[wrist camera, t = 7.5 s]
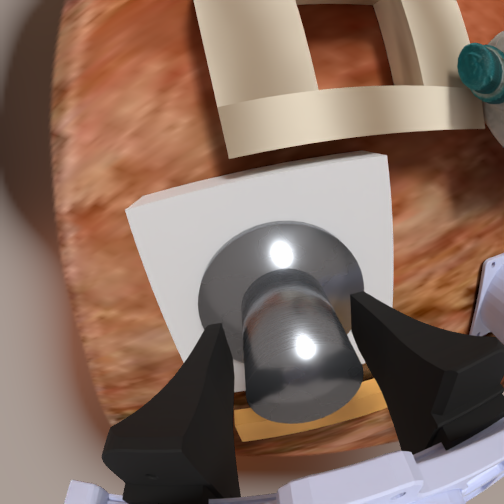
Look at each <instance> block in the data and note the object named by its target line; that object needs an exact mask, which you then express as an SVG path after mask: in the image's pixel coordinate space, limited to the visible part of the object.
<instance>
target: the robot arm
mask: <svg viewBox="0 0 504 504" xmlns="http://www.w3.org/2000/svg"><path fill="white" fill-rule="evenodd" d="M350 306H351V332H352V334H353V337H354V340H355V342H356V345H357V347H358V350H359V351H360V353H361V355H362V357H363V359H364V360H365V362H366V364H367V366H368V368H369V369H370V371H371V373H372V375H373V377H374V378H375V380H376V382H377V384H378V386H379V388H380V390H381V392H382V394H383V397H384V399H385V402H386V404H387V407H388V409H389V412H390V415H391V418H392V421H393V424H394V427H395V430H396V433H397V436H398V440H399V443H400V446H401V450H402V451H400V450H398V451H395V452H391V453H387V454H383V455H381V456H378V457H375V458H372V459H369V460H366V461H362V462H359V463H356V464H352V465H349V466H345V467H342V468H338V469H334V470H330V471H326V472H322V473H318V474H313V475H309V476H306V477H302V478H299V479H295V480H292V481H290V482H288V483H286V484H285V485H283V486H281V487H280V488H279V489H278V491H277V493H273V494H266V495H258V496H249V497H241V496H240V489H239V482H238V474H237V466H236V457H235V447H234V436H233V404H234V380H235V376H234V365H233V357H232V354H231V351H230V348H229V345H228V342H227V339H226V336H225V333H224V330H223V327H222V324H221V323H217V324H211V325H207V326H206V328H205V330H204V331H203V333H202V335H201V337H200V338H199V340H198V342H197V344H196V345H195V347H194V348H193V350H192V352H191V353H190V355H189V356H188V358H187V359H186V361H185V362H184V364H183V365H182V366H181V368H180V369H179V371H178V372H177V373H176V374H175V376H174V377H173V378H172V379H171V380H170V381H169V383H168V384H167V385H166V386H165V387H164V388H163V389H162V390H161V391H160V392H159V393H158V394H157V395H155V396H154V397H153V398H152V399H151V400H150V401H149V402H148V403H146V404H145V405H144V406H143V407H141V408H140V409H139V410H137V411H136V412H135V413H133V414H132V415H130V416H129V417H127V418H126V419H124V420H122V421H121V422H119V423H117V424H116V425H114V426H112V427H111V428H110V430H109V433H108V436H107V439H106V443H105V446H104V450H103V454H102V460H103V462H104V463H105V465H106V466H107V467H108V468H109V469H110V470H111V471H113V472H114V473H115V474H116V475H117V476H118V477H119V478H120V479H122V480H123V481H124V482H125V488H124V493H123V495H116V494H109V493H108V492H107V491H106V490H105V489H103V488H102V487H100V486H98V485H96V484H92V483H88V482H82V481H77V480H71V482H70V485H69V488H68V492H67V495H66V499H65V502H64V504H466V502H467V501H469V500H470V499H472V498H473V497H475V496H476V495H478V494H480V493H481V492H483V491H484V490H485V489H487V488H488V487H490V486H491V485H493V484H494V483H495V482H497V481H498V480H499V479H501V478H502V477H503V476H504V396H503V395H502V393H503V392H504V388H503V386H502V385H501V384H500V382H501V380H502V378H503V376H504V253H502V254H500V255H497V256H494V257H491V258H489V259H487V260H485V261H484V263H483V268H482V274H481V281H480V287H479V292H478V298H477V303H476V307H475V312H474V317H473V321H472V325H471V329H470V333H469V335H467V334H461V333H456V332H451V331H447V330H444V329H440V328H437V327H434V326H431V325H428V324H425V323H423V322H420V321H418V320H415V319H413V318H411V317H409V316H407V315H405V314H403V313H401V312H399V311H397V310H395V309H393V308H391V307H390V306H388V305H386V304H384V303H383V302H381V301H379V300H378V299H376V298H374V297H373V296H371V295H369V294H368V293H366V292H364V291H361V292H357V293H354V294H350ZM489 332H492V333H493V334H494V335H495V336H496V337H497V338H498V339H499V340H500V341H501V342H502V343H503V344H502V343H501V342H500V341H499V340H498V339H497V338H496V337H486V336H483V335H485V334H487V333H489Z"/></svg>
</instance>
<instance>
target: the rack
mask: <svg viewBox="0 0 504 504" xmlns="http://www.w3.org/2000/svg"><path fill="white" fill-rule="evenodd" d="M304 4H359V5H373V7H374V10H375V13H376V16H377V20H378V23H379V26H380V30H381V33H382V37H383V40H384V44H385V48H386V52H387V56H388V60H389V65H390V69H391V73H392V78H393V83H394V86H364V87H348V88H336V89H325V90H318V86H317V81H316V77H315V72H314V68H313V64H312V60H311V56H310V52H309V48H308V44H307V40H306V36H305V32H304V29H303V25H302V21H301V18H300V14H299V11H298V7H297V5H304ZM194 5H195V9H196V14H197V18H198V23H199V27H200V32H201V36H202V41H203V45H204V50H205V54H206V59H207V63H208V68H209V72H210V76H211V81H212V85H213V90H214V94H215V99H216V103H217V108H218V112H219V117H220V121H221V125H222V130H223V134H224V139H225V143H226V148H227V152H228V157H229V159H232V158H236V157H241V156H246V155H250V154H255V153H260V152H265V151H271V150H276V149H281V148H287V147H293V146H298V145H304V144H311V143H317V142H324V141H330V140H338V139H345V138H353V137H361V136H370V135H379V134H390V133H401V132H414V131H430V130H451V129H485V122H484V114H483V106H482V100H480V99H478V98H477V97H475V96H474V94H473V93H472V91H471V90H470V88H468V87H467V86H466V85H464V84H463V82H462V81H461V79H460V76H459V74H458V69H457V64H458V57H459V54H460V52H461V51H462V49H463V48H464V46H466V45H468V44H470V42H469V38H468V35H467V31H466V28H465V25H464V22H463V18H462V15H461V12H460V9H459V7H458V4H457V1H456V0H194Z"/></svg>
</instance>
